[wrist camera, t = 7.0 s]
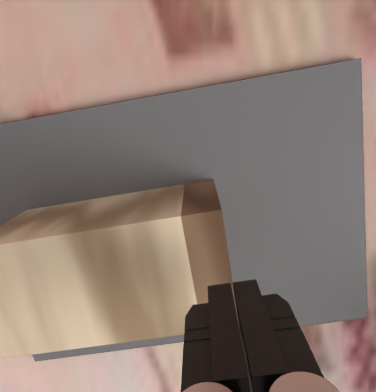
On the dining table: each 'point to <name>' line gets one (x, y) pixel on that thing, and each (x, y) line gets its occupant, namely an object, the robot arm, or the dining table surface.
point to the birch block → (109, 268)
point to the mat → (223, 177)
